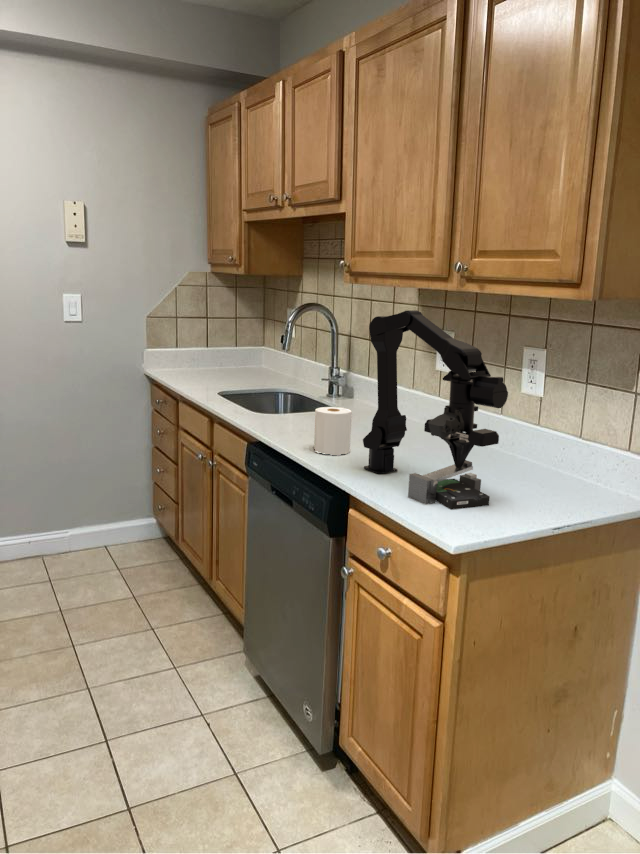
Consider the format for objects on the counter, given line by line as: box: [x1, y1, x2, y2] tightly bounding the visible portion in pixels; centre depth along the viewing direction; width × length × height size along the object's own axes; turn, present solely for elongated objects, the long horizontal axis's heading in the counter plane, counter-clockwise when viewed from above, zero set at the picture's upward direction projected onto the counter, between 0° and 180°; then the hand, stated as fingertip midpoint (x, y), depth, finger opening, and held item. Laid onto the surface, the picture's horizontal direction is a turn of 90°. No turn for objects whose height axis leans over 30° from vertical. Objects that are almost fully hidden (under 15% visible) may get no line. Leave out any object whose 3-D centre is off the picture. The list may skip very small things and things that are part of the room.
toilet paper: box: [313, 406, 353, 456], centre depth 201 cm, size 10×10×12 cm
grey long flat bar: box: [421, 459, 474, 482], centre depth 164 cm, size 4×13×2 cm, turn 124°
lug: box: [459, 472, 482, 492], centre depth 170 cm, size 5×2×4 cm, turn 34°
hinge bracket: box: [407, 472, 438, 505], centre depth 161 cm, size 7×3×6 cm, turn 34°
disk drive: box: [436, 478, 491, 511], centre depth 164 cm, size 10×3×15 cm
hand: (458, 467), depth 166 cm, fingers closed, pressing on grey long flat bar
